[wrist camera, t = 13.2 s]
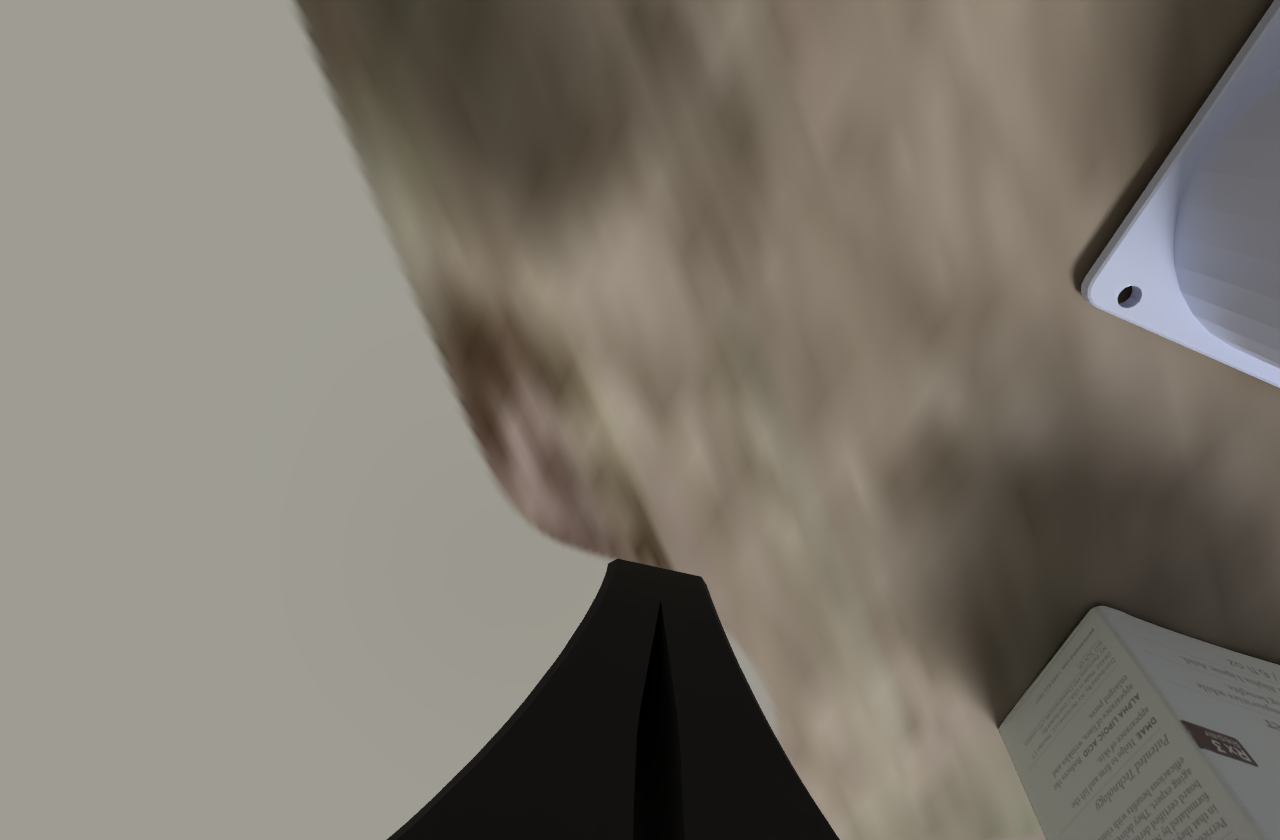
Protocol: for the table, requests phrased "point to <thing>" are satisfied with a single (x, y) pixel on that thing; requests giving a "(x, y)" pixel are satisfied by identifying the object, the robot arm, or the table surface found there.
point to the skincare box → (1149, 737)
